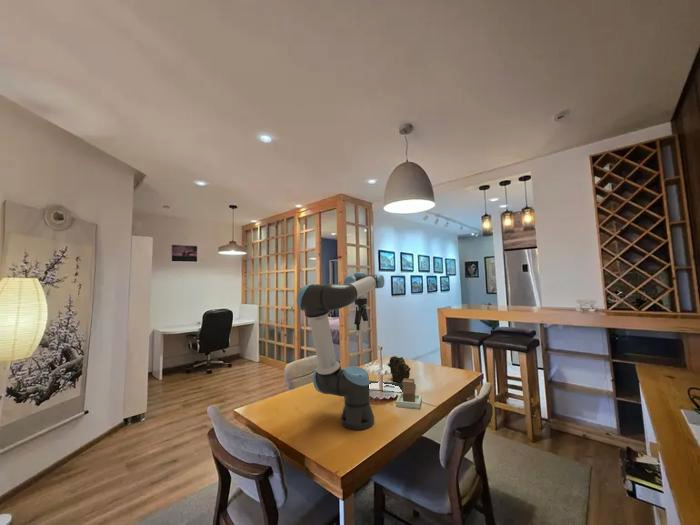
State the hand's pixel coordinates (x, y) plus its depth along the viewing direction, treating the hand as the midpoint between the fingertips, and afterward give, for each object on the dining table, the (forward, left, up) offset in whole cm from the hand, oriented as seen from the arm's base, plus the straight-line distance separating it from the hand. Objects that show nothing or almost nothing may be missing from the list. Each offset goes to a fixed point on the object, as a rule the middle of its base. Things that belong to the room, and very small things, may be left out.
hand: (362, 333), depth 170 cm
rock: (+22, -18, -33) cm, 44 cm away
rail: (+6, -14, -33) cm, 36 cm away
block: (-12, -28, -32) cm, 44 cm away
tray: (-12, -28, -33) cm, 45 cm away
